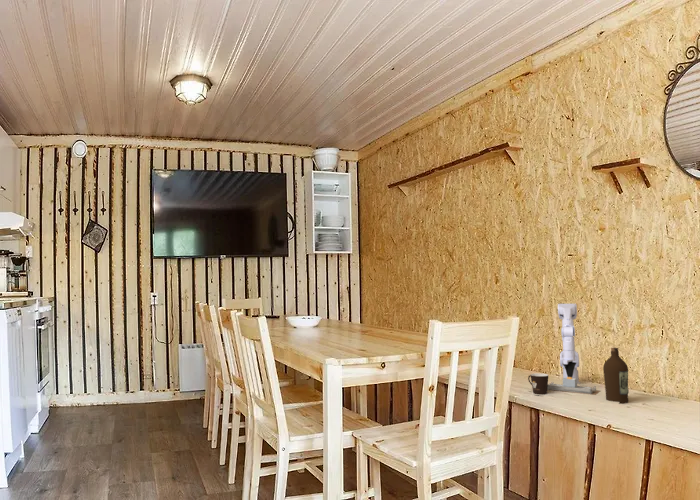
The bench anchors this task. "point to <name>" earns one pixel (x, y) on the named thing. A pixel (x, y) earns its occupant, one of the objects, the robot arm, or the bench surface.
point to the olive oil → (616, 378)
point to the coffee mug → (539, 383)
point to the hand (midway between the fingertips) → (570, 376)
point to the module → (570, 382)
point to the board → (581, 393)
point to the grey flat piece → (571, 388)
